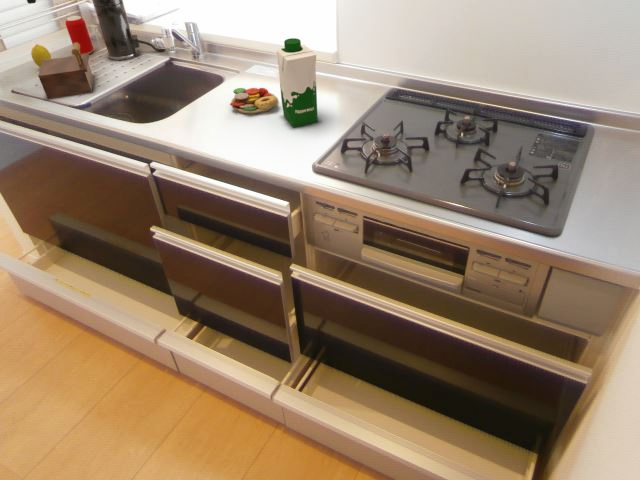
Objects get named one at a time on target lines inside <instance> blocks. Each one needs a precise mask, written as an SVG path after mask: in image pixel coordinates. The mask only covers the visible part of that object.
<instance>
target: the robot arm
mask: <svg viewBox="0 0 640 480" xmlns="http://www.w3.org/2000/svg"><path fill="white" fill-rule="evenodd" d="M26 2H27V4H29V5H31V4H36V2H37V0H26ZM91 2H92V5H93V8H94V11H95V14H96V18H97V21H98V25H99V27H100V30H101V34H102V37H103V40H104V44H105V47H106V50H107V53H108V57H109V59H110V60H114V61H123V60H128V59H132V58H133V57H138V50H137V48H138V49H139V48H140V44H144V45H147V46H149V47H151V48H152V49H153V50H154V51H156V52H164V51H166V48H165V49H161V48H158V47H156V46H155V45H154V44H152V43H151V42H149V41H146V40H141V39H139V37H138V35H137V34H133V32H132V29H131V25H130V22H129V19H128V16H127V11H126V8H125V4H124V1H123V0H91Z"/></svg>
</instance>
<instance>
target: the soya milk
mask: <svg viewBox="0 0 640 480" xmlns="http://www.w3.org/2000/svg"><path fill="white" fill-rule="evenodd" d="M301 43H302V42H301V39H300V38H291V37H290V38H287V39H285V40H284V41H283V46H284V47H283V48H279V49H276V56H277V65H278V74H279V77H278V78H279V89H280V98H281V106H282V113H283V118H285V120H286V121H287V122H288V123H289V125H290V126H291V127H292V128H293V129H294V128H297V127H302V126H306V125H309V124H313V123H318V122H319V121H318V120H319V119H318V117H319V116H318V96H317V95H318V94H317V93H318V91H317V72H316V71H317V70H316V68H317V67H316V66H317V54H316V53H315V52H314V51H313V50H312V49H311V48H309V47H308V46H307V45H305V44H301Z"/></svg>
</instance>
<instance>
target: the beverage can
mask: <svg viewBox="0 0 640 480" xmlns="http://www.w3.org/2000/svg"><path fill="white" fill-rule="evenodd" d="M86 24H87V23H86V20H85V19H83V18H82V16H80V15H72V16H68V17H67V18H66V19H65V26H66V30H67V33H68V35H69V38H70V41H71V43H72V45H73V44H74V43H75V42H77V43H79V44H80V54H81V55H85V54H89V55H90V54H91V53H92V52H93V51H94V45H93V42H92V40H91V36H90V34H89V30H88V27H87V25H86Z"/></svg>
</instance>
